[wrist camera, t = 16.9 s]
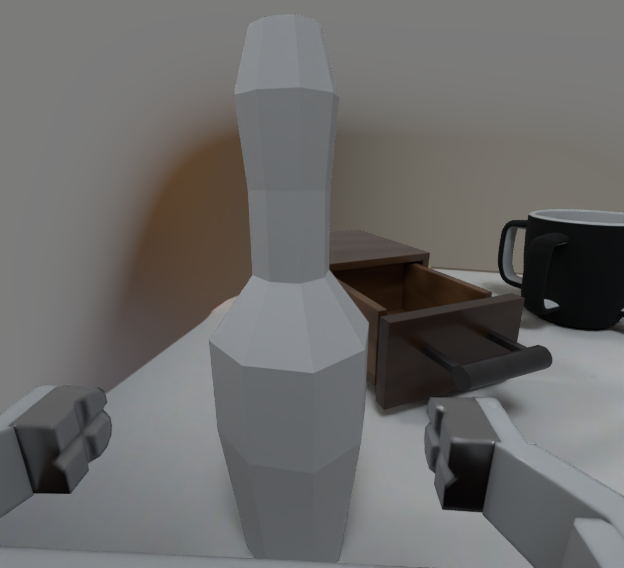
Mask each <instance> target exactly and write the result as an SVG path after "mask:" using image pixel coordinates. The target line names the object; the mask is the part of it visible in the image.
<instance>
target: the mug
mask: <svg viewBox="0 0 624 568" xmlns="http://www.w3.org/2000/svg"><path fill="white" fill-rule="evenodd" d="M518 228H519V229H526V235H525V246H524V271H523V278H521V277H519V276H517V275H516V274H515V272H514V270H513V265H512V256H513V248H514V242H515V236H516V233H517V229H518ZM498 267H499V271H500V275H501V277H502V279H503V280H504V281H505V282H506V283H507V284H509V285H512V286H514V287H517V288H520V289H521V297H524V298H525V300H524V305H523V306H524V307H525V308H526V309H527V310H528V311H530V312H532V313H534V314H535V315H537V316H539V317H541V318H543V319H546V320H548V321H551V322H555V323H558V324H562V325H567V326H572V327H578V328H592V329H597V328H606V327H610V326H613V325H615V324H616V323H617V322H619V320H620V319H621V318H622V317H624V213H619V212H609V211H593V210H569V209H568V210H567V209H559V210H558V209H556V210H555V209H554V210H539V211H534V212H532V213H530V214H529V215H528V220H512V221H510V222H508V223H507V224H506V225H505V226H504V228H503V230H502V234H501V239H500V246H499V253H498Z"/></svg>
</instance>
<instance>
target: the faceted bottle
mask: <svg viewBox="0 0 624 568" xmlns="http://www.w3.org/2000/svg"><path fill="white" fill-rule="evenodd" d="M234 100H235V107H236V113H237V120H238V127H239V134H240V140H241V146H242V153H243V160H244V167H245V174H246V180H247V187H248V199H249V219H250V236H251V255H252V273H253V275H252V277H251V278H250V280H249V281H248V283H247V285H246V286H245V288H244V289H243V290H242V292H241V294H240V295H239V296H238V298H237V299H236V301H235V302H234V304H233V305H232V307H231V308H230V310H229V311H228V313H227V314H226V316H225V318H224V319H223V321H222V322H221V324H220V325H219V327H218V328H217V330H216V331H215V333H214V334H213V336H212V337H211V339H210V340H209V345H210V355H211V366H212V376H213V386H214V397H215V407H216V417H217V427H218V433H219V437H220V440H221V444H222V448H223V452H224V456H225V460H226V464H227V468H228V471H229V475H230V479H231V483H232V487H233V491H234V495H235V498H236V502H237V506H238V510H239V514H240V518H241V522H242V526H243V529H244V533H245V537H246V541H247V545H248V548H249V550H250V551H251V553H252V554H253V555H254V557H255V558H256V559H273V560H292V561H311V562H330V563H336V562H337V561H338V560H339V557H340V551H341V546H342V541H343V535H344V530H345V525H346V519H347V514H348V509H349V503H350V498H351V493H352V487H353V482H354V477H355V471H356V466H357V461H358V455H359V450H360V445H361V437H362V429H363V420H364V411H365V397H366V376H367V354H368V332H369V322H368V321H367V319H366V318H365V317H364V315H363V314H362V313H361V311H360V310H359V309H358V307H357V306H356V305H355V303H354V302H353V301H352V299H351V298H350V297H349V295H348V294H347V293H346V291H345V290H344V289H343V287H342V286H341V285H340V283H339V282H338V281H337V279H336V278H335V277H334V275H333V274H332V273H331V271H330V270H329V242H330V184H331V174H332V164H333V154H334V143H335V134H336V123H337V114H338V103H339V97H338V92H337V88H336V84H335V80H334V76H333V71H332V67H331V63H330V59H329V54H328V50H327V46H326V42H325V37H324V33H323V30H322V28H321V26H320V24H319V22H318V21H316V20H312V19H309V18H306V17H302V16H299V15H296V14H290V15H278V16H265V17H263V18H261V19H259V20H257V21H255V22H253V23H251V24H249V25H248V31H247V35H246V39H245V45H244V49H243V54H242V58H241V63H240V68H239V72H238V77H237V82H236V86H235V91H234Z"/></svg>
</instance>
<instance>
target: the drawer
mask: <svg viewBox="0 0 624 568" xmlns="http://www.w3.org/2000/svg"><path fill="white" fill-rule="evenodd" d="M331 273H332V274H333V275H334V277H335V278H336V279H337V281H338V282H339V283H340V285H341V286H342V287H343V289H344V290H345V291H346V293H347V294H348V295H349V297H350V298H351V299H352V301H353V302H354V303H355V305H356V306H357V307H358V309H359V310H360V311H361V313H362V314H363V315H364V317H365V318H366V319H367V321H368V322H369V332H368V354H367V376H366V378H367V379H368V380H369V381H370V382H371V383H372V384H373V385H376V402H377V403H378V404H379V405H380V406H381V407H382V408H383V409H384V410H385V409H389V408H392V407H396V406H399V405H403V404H406V403H410V402H414V401H417V400H421V399H424V398H428V397H431V396H435V395H439V394H442V393H446V392H449V391H453V390H456V389H460V390H462V391H469V390H473V389H476V388H480V387H483V386H487V385H490V384H494V383H497V382H501V381H504V380H508V379H511V378H515V377H518V376H522V375H525V374H529V373H532V372H536V371H539V370H543V369H546V368H549V367H550V366H551V364H552V356H551V353H550V352H549V350H548V349H547V348H545V347H543V346H540V345H536V346H532V347H528V348H527V347H525V346H523V345H521V344H519V343H517V339H518V333H519V328H520V322H521V317H522V311H523V305H524V300H525V298H524V297H521V296H518V295H515V294H513V293H512V294H506V295H500V296H495V297H491V294H492V292H491V291H488V290H485V289H483V288H480V287H477V286H475V285H472V284H470V283H467V282H464V281H462V280H459V279H456V278H454V277H451V276H449V275H446V274H443V273H441V272H438V271H435V270H433V269H430V268H427V267H425V266H422V265H420V264H417V263H414V262H407V263H399V264H390V265H382V266H374V267H365V268H357V269H349V270H341V271H332V272H331Z"/></svg>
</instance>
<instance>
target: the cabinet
mask: <svg viewBox="0 0 624 568" xmlns="http://www.w3.org/2000/svg"><path fill="white" fill-rule="evenodd" d="M429 255H430V253H429V252H426V251H423V250H419V249H416V248H413V247H410V246H407V245H404V244H401V243H398V242H395V241H391V240H389V239H385V238H382V237H379V236H376V235H373V234H370V233H367V232H364V231H361V230H350V231H336V232H330V242H329V270H330V271H331V272H332V271H341V270H349V269H357V268H365V267H374V266H382V265H390V264H399V263H407V262H414V263H417V264H420V265H422V266H425V267H427V268H428V266H429Z"/></svg>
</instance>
